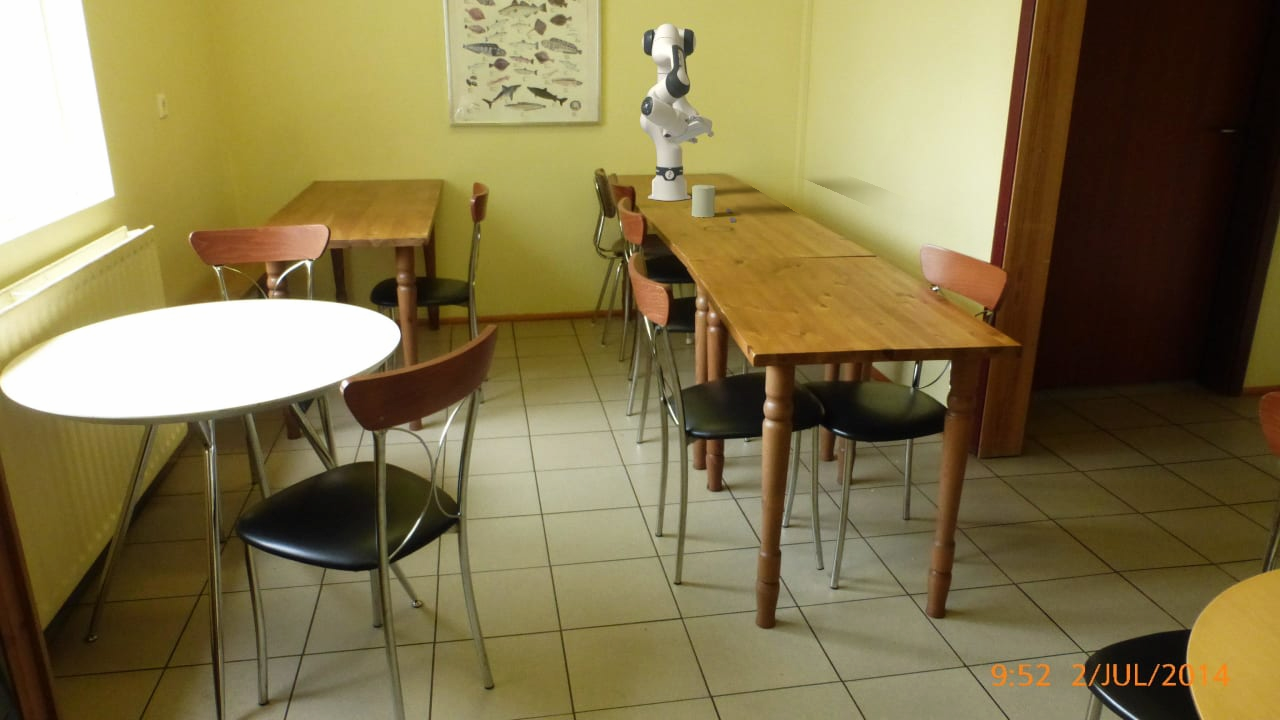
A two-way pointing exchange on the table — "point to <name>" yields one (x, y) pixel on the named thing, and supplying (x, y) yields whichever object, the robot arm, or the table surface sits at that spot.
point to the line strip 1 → (729, 211)
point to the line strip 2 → (732, 219)
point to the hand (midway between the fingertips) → (704, 138)
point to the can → (703, 200)
